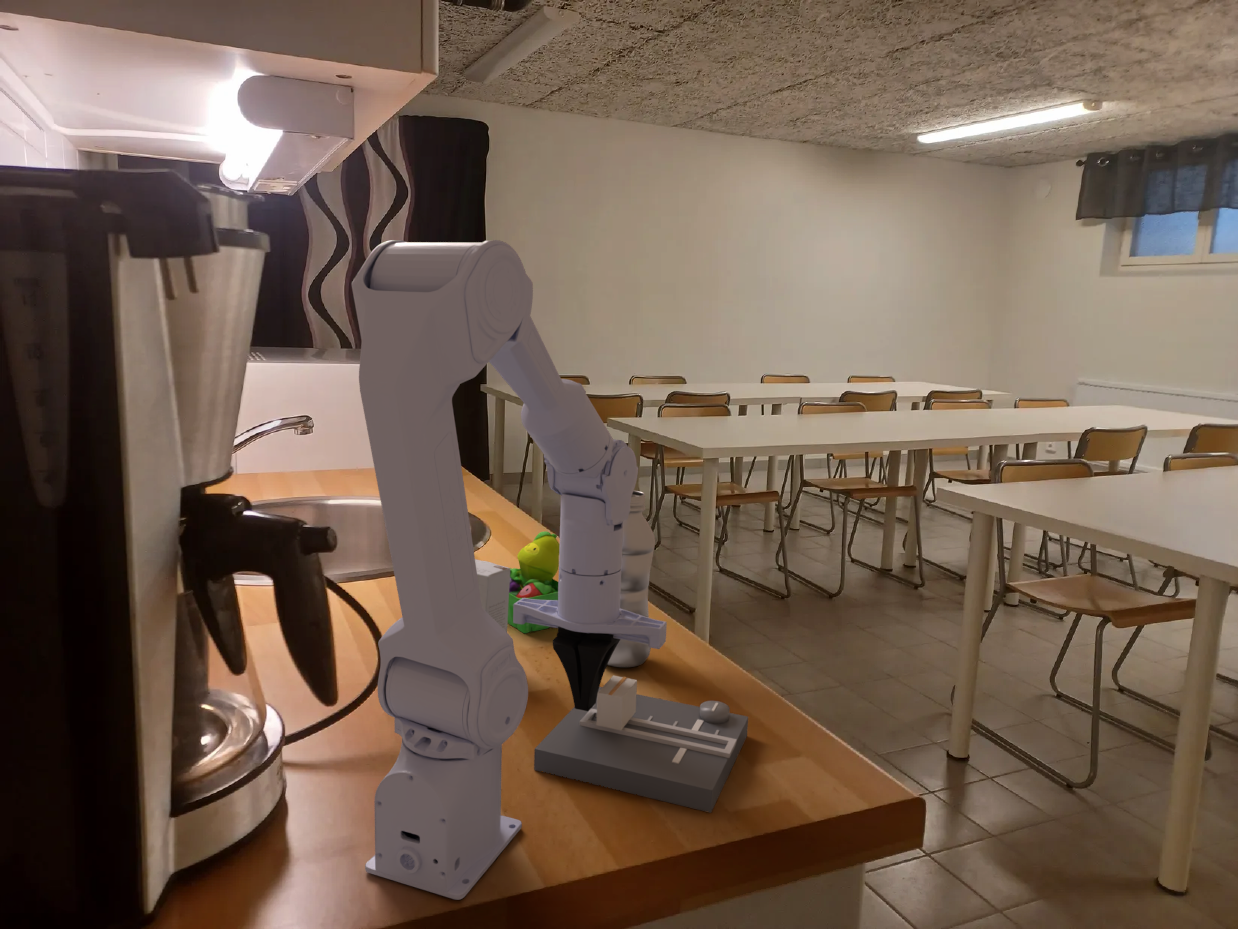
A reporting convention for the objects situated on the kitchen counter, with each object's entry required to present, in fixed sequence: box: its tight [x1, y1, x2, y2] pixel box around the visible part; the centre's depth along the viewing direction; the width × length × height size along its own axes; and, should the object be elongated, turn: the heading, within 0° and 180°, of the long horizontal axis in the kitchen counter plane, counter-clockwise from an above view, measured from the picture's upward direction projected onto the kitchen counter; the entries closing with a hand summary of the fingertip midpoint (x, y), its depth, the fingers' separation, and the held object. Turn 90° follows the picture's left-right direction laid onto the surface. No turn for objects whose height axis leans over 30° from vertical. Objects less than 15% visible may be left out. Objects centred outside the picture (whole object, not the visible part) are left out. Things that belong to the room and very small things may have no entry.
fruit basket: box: [507, 530, 560, 634], centre depth 111 cm, size 11×9×11 cm
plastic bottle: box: [607, 490, 656, 668], centre depth 97 cm, size 6×7×20 cm
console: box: [533, 686, 749, 813], centre depth 79 cm, size 14×16×3 cm
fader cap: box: [596, 675, 638, 730], centre depth 79 cm, size 4×2×4 cm, turn 160°
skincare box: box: [475, 558, 511, 633], centre depth 94 cm, size 6×4×12 cm
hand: (585, 705), depth 81 cm, fingers closed
